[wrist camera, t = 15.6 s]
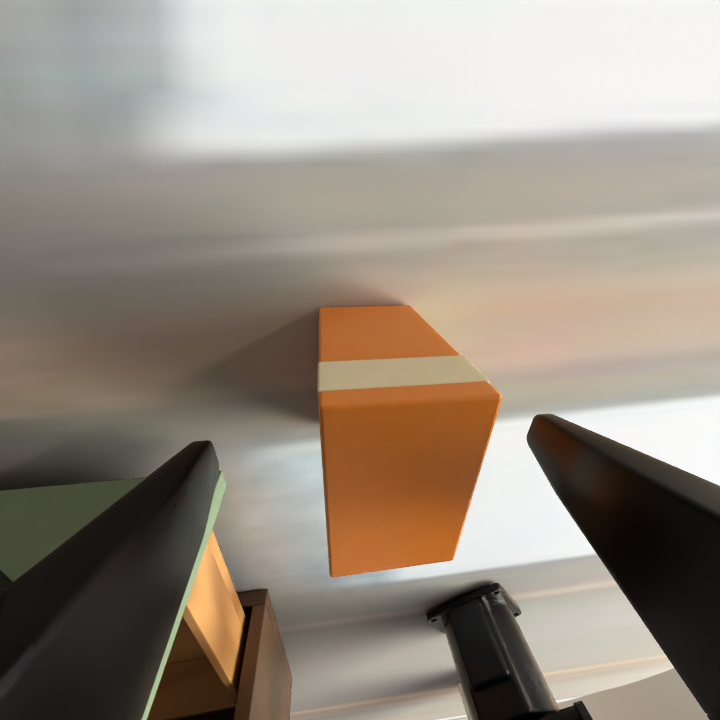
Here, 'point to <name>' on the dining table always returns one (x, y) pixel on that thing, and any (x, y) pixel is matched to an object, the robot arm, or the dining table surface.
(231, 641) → the drawer
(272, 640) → the organizer
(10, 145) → the dining table surface
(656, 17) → the dining table surface
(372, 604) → the dining table surface
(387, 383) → the snack box
